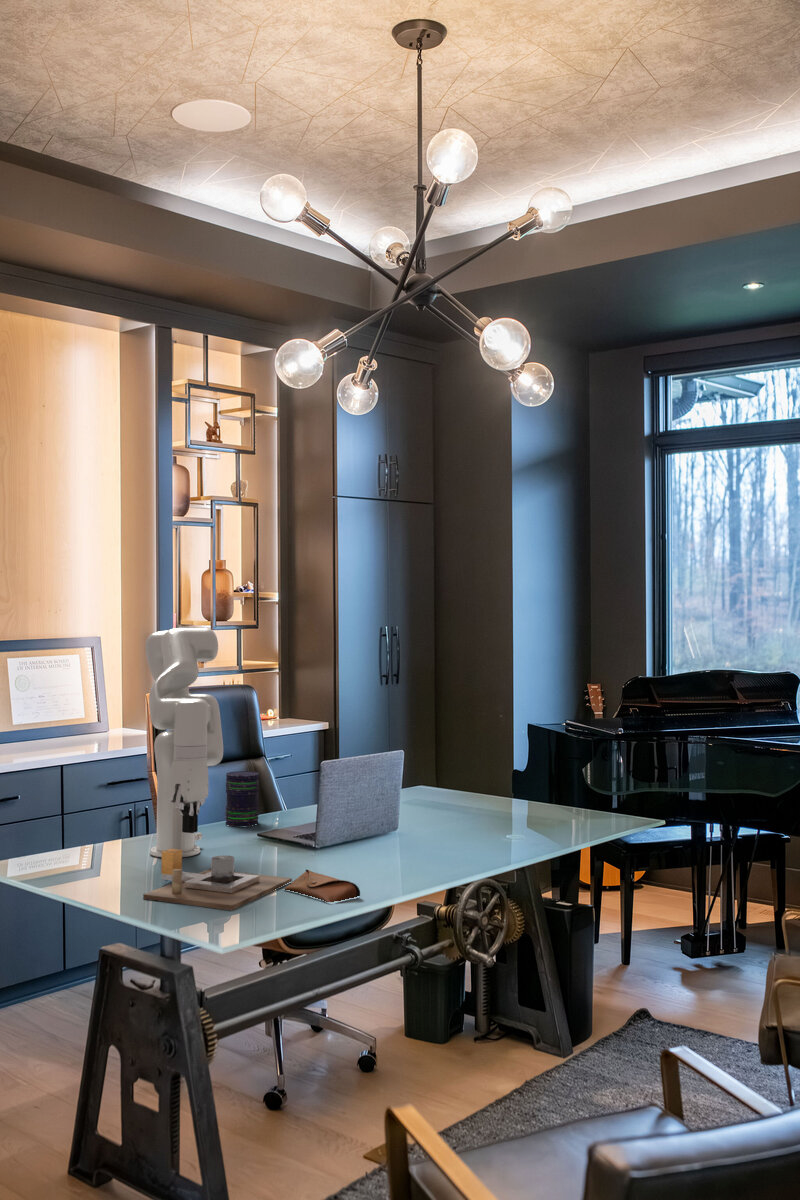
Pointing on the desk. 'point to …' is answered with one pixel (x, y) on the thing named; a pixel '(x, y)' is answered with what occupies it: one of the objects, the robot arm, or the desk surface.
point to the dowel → (176, 881)
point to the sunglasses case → (323, 887)
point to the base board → (218, 893)
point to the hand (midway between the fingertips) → (189, 832)
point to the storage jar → (242, 798)
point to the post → (222, 869)
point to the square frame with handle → (201, 875)
